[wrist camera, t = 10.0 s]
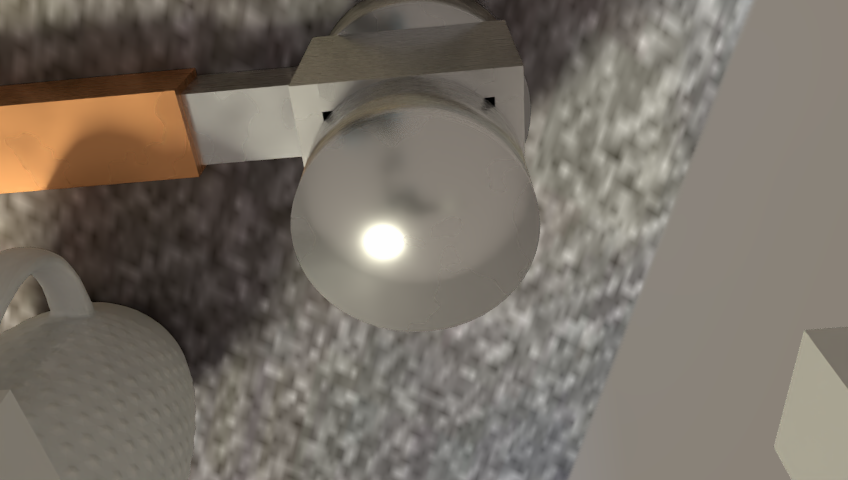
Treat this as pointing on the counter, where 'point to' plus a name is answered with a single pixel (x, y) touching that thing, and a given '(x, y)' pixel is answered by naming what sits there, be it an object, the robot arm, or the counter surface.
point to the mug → (95, 379)
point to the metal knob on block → (413, 173)
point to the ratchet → (176, 114)
